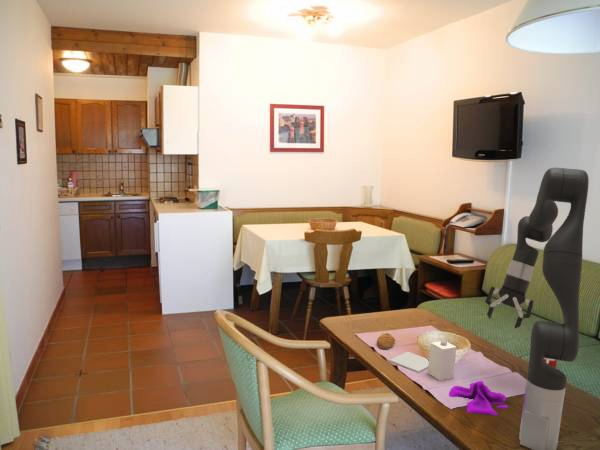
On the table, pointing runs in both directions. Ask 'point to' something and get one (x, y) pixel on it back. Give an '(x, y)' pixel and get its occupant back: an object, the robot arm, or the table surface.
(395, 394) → the table surface
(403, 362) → the mat
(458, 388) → the cloth
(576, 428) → the table surface
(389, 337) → the pastry
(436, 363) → the white square bottle
